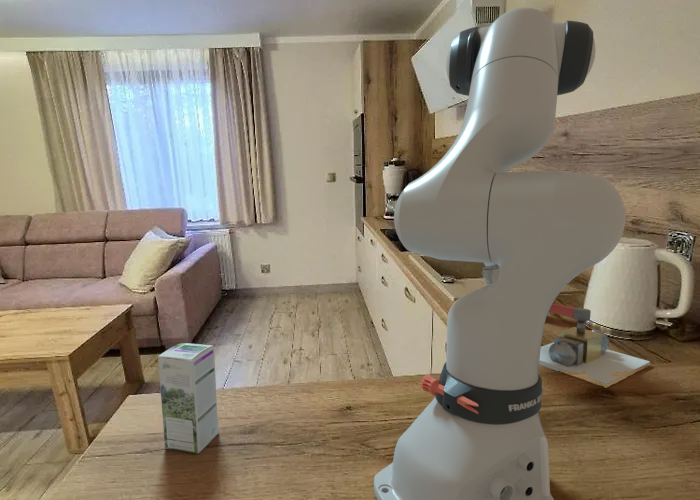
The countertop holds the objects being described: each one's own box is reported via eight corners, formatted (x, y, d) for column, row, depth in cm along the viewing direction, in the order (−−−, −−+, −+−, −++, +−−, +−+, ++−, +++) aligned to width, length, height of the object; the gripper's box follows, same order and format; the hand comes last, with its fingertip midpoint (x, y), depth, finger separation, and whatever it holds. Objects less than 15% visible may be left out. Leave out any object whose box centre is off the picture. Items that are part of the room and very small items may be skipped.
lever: (585, 322, 85) (586, 312, 85) (531, 309, 96) (532, 300, 96) (592, 319, 87) (593, 310, 87) (539, 307, 98) (539, 298, 97)
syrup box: (220, 432, 62) (215, 343, 60) (197, 456, 56) (192, 358, 55) (188, 428, 63) (182, 340, 62) (162, 450, 58) (156, 354, 56)
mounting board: (606, 388, 75) (606, 383, 75) (520, 358, 90) (521, 353, 90) (649, 365, 86) (650, 361, 85) (566, 341, 101) (566, 337, 100)
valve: (574, 371, 82) (576, 330, 81) (546, 361, 87) (548, 323, 86) (610, 355, 90) (613, 318, 89) (583, 347, 95) (585, 312, 94)
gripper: (486, 259, 91) (523, 310, 84) (538, 252, 102) (575, 297, 95) (470, 275, 95) (504, 325, 88) (522, 267, 106) (556, 311, 99)
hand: (541, 311), depth 91 cm, fingers closed
